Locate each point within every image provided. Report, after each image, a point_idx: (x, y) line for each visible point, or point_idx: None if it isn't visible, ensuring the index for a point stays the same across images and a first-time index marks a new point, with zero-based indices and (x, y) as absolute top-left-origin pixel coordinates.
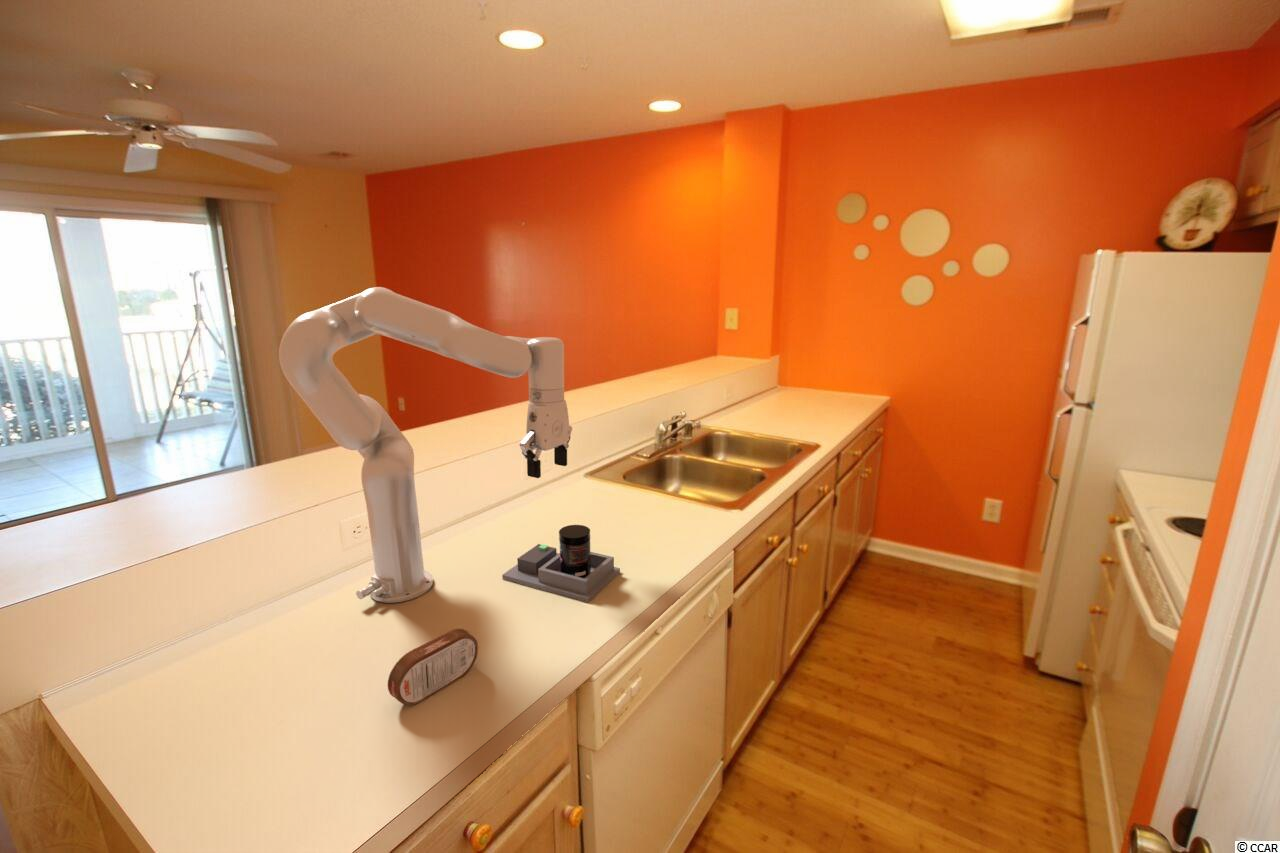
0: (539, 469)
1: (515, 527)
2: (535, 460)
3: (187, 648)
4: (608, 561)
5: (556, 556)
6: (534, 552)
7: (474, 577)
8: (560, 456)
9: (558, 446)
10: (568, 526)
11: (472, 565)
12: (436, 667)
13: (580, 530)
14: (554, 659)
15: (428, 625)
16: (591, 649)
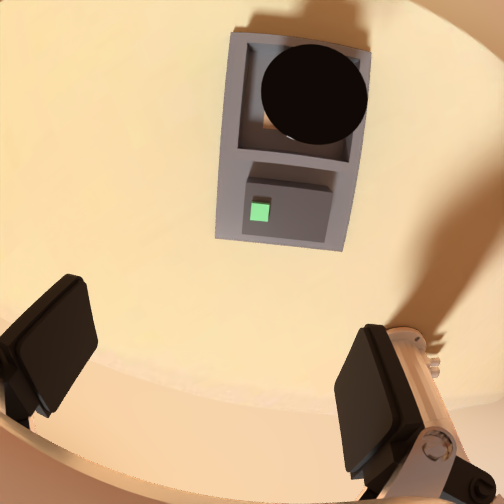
0: (397, 363)
1: (150, 323)
2: (445, 431)
3: (468, 403)
4: (263, 34)
5: (286, 161)
6: (285, 221)
7: (345, 294)
8: (60, 345)
9: (27, 407)
10: (288, 127)
11: (307, 318)
12: None
13: (303, 76)
14: (493, 77)
15: (465, 273)
16: (463, 32)
